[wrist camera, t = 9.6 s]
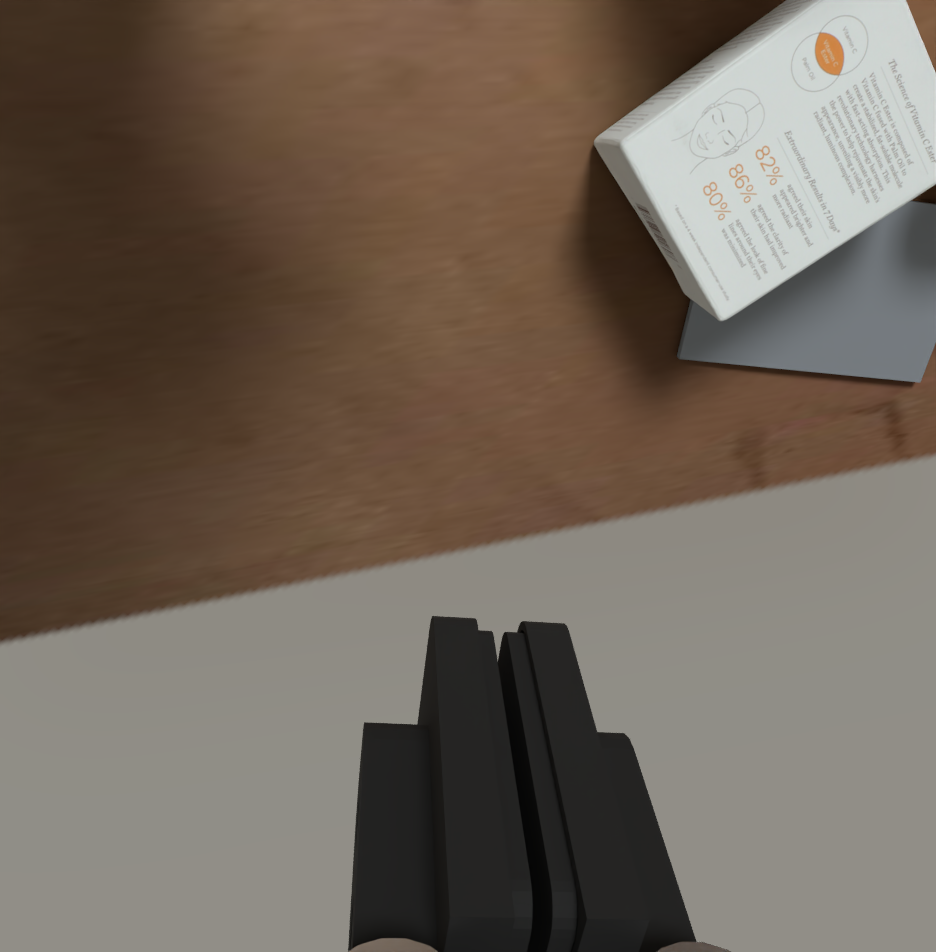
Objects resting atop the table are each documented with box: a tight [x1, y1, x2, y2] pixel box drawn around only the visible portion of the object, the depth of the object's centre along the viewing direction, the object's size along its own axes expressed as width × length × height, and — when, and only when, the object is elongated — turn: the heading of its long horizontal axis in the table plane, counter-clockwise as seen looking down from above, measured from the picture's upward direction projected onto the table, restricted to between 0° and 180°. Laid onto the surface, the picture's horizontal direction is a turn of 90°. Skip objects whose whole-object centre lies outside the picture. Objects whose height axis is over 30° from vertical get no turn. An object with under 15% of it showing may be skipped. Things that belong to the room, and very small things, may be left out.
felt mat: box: [677, 201, 936, 382], centre depth 38 cm, size 8×12×1 cm, turn 83°
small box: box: [594, 0, 936, 321], centre depth 32 cm, size 8×6×10 cm
